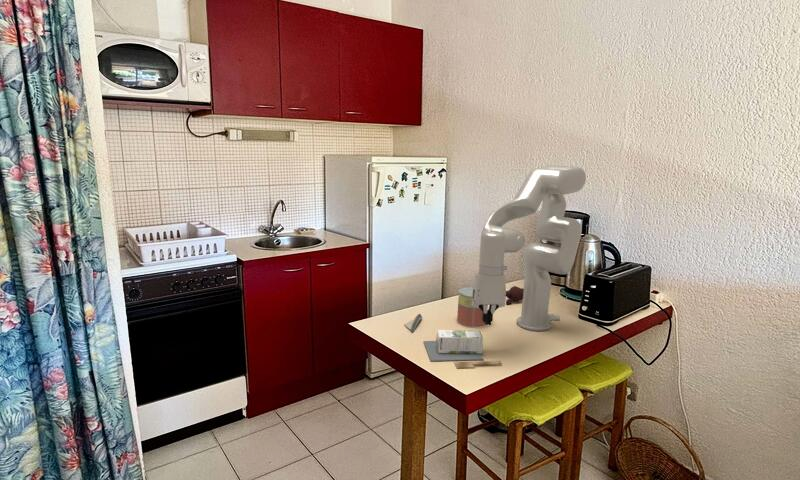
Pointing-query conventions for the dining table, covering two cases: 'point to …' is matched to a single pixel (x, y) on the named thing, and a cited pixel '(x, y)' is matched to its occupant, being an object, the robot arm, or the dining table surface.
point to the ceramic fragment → (413, 323)
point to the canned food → (468, 310)
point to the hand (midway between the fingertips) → (487, 323)
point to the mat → (448, 354)
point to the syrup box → (459, 341)
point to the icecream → (514, 295)
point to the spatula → (476, 364)
